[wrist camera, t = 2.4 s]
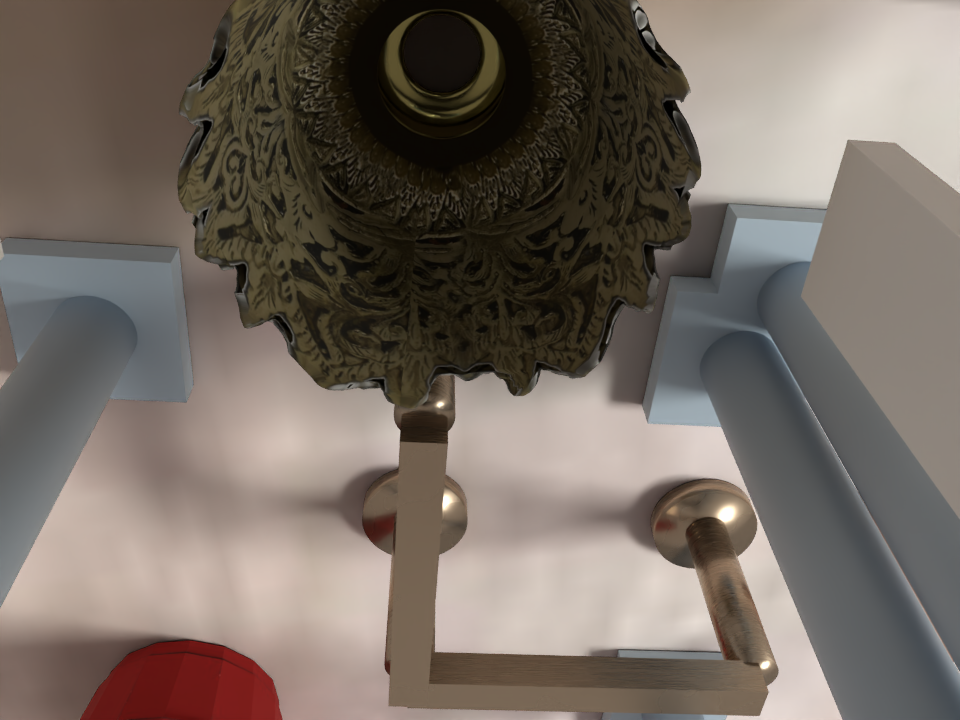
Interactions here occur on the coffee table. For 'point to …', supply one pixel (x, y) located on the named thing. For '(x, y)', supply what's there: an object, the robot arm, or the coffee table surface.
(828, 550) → the gate
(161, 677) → the plastic cup
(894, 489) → the gate
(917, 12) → the coffee table surface
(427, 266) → the ornate lamp shade
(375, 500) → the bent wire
